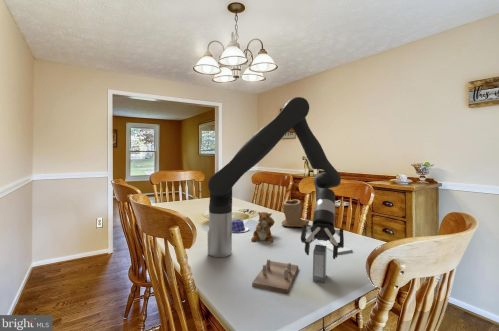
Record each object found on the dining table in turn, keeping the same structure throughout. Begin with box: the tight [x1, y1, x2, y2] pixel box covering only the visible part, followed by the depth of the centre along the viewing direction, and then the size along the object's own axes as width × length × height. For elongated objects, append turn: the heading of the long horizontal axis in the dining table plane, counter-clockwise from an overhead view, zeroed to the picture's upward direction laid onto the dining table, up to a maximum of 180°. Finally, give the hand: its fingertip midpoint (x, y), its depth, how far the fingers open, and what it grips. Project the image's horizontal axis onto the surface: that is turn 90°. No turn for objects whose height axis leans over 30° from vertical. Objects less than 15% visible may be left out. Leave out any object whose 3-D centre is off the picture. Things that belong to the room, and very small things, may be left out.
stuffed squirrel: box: [251, 211, 275, 243], centre depth 121 cm, size 10×14×13 cm
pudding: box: [232, 218, 249, 233], centre depth 134 cm, size 12×12×5 cm
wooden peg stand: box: [252, 258, 299, 294], centre depth 83 cm, size 17×11×4 cm, turn 159°
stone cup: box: [281, 199, 310, 228], centre depth 140 cm, size 15×12×15 cm
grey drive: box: [312, 244, 328, 284], centre depth 82 cm, size 6×4×10 cm, turn 159°
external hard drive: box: [317, 240, 354, 255], centre depth 109 cm, size 2×8×12 cm
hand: (320, 256), depth 83 cm, fingers open, 8 cm apart
